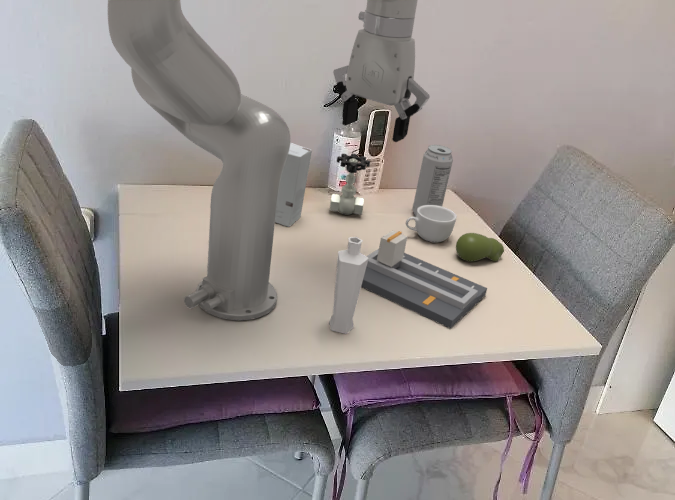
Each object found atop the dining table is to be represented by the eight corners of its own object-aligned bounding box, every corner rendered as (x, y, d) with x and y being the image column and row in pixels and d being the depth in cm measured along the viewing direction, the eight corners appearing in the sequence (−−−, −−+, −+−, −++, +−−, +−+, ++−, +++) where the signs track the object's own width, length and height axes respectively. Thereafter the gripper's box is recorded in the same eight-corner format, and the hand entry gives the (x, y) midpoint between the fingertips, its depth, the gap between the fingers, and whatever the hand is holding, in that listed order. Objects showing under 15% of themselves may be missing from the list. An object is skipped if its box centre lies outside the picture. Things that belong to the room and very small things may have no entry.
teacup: (442, 228, 141) (447, 204, 139) (457, 246, 135) (463, 222, 132) (396, 228, 138) (401, 204, 136) (409, 246, 132) (414, 221, 129)
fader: (390, 273, 118) (396, 242, 115) (375, 266, 119) (381, 235, 117) (401, 264, 121) (408, 234, 118) (387, 258, 123) (393, 228, 120)
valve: (361, 222, 138) (370, 167, 133) (328, 218, 138) (336, 162, 132) (361, 209, 144) (370, 155, 138) (329, 204, 144) (337, 151, 138)
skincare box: (252, 216, 134) (258, 144, 127) (265, 206, 139) (272, 136, 132) (291, 228, 132) (300, 156, 125) (303, 217, 137) (312, 146, 130)
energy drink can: (427, 207, 149) (442, 142, 142) (445, 219, 145) (460, 153, 138) (405, 211, 146) (419, 144, 139) (422, 223, 142) (437, 155, 135)
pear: (456, 226, 129) (497, 231, 134) (446, 251, 132) (487, 255, 136) (472, 240, 125) (513, 244, 130) (462, 265, 127) (503, 269, 132)
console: (450, 328, 109) (454, 314, 107) (346, 279, 118) (348, 266, 116) (485, 295, 119) (489, 282, 118) (387, 253, 128) (390, 240, 127)
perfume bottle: (358, 321, 107) (373, 236, 100) (352, 336, 103) (368, 249, 96) (329, 314, 108) (343, 229, 101) (323, 329, 104) (336, 242, 97)
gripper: (328, 16, 106) (317, 122, 115) (427, 41, 99) (408, 152, 107) (354, 12, 112) (341, 113, 120) (449, 35, 105) (429, 141, 113)
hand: (373, 131), depth 114 cm, fingers open, 9 cm apart
